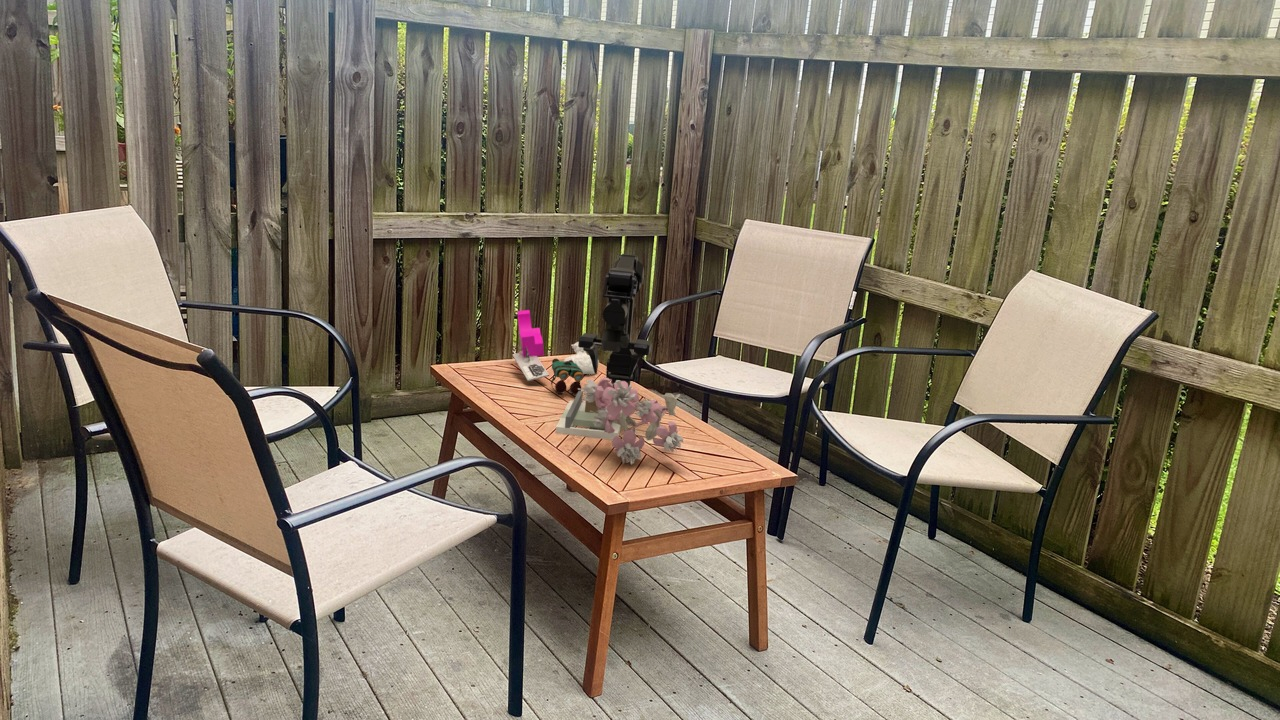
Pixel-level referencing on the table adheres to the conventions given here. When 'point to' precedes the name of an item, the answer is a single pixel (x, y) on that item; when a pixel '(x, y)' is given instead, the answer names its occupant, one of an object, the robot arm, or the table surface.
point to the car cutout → (530, 366)
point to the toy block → (529, 335)
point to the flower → (621, 414)
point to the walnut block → (591, 406)
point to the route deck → (583, 421)
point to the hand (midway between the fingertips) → (612, 375)
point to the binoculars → (566, 375)
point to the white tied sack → (582, 360)
